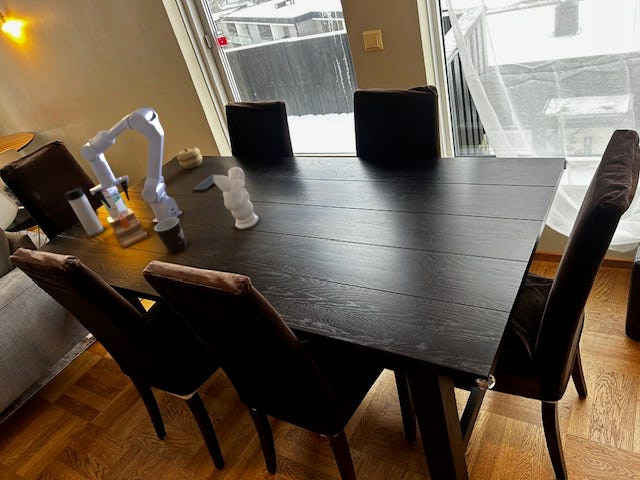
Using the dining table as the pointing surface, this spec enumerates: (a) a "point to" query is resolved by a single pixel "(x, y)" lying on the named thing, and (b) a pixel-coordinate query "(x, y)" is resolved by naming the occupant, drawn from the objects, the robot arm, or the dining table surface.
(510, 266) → the dining table surface
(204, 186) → the cell phone
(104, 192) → the syrup box
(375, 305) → the dining table surface
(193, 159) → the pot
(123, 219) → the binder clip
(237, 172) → the cherub figurine
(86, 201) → the travel mug
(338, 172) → the dining table surface
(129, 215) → the step shelf
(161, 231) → the coffee mug
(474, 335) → the dining table surface
